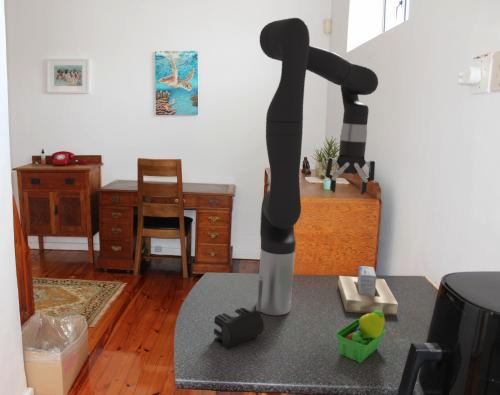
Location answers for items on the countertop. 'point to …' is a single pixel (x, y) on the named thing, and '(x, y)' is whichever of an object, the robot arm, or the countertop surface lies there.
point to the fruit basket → (362, 336)
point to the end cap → (238, 327)
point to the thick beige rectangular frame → (367, 297)
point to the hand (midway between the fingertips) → (347, 193)
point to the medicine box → (366, 281)
